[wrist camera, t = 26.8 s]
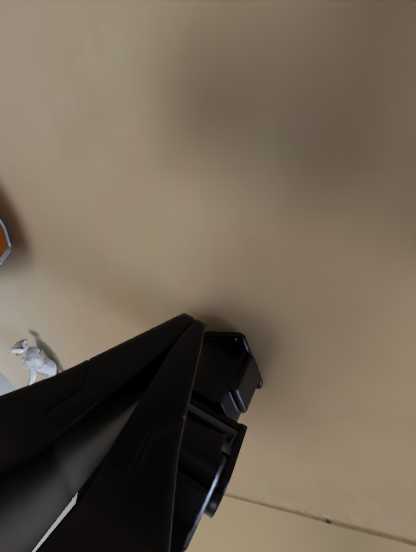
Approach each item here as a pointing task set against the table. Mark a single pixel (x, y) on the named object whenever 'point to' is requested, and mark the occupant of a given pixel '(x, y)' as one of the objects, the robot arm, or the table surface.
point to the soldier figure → (34, 361)
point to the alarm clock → (4, 243)
